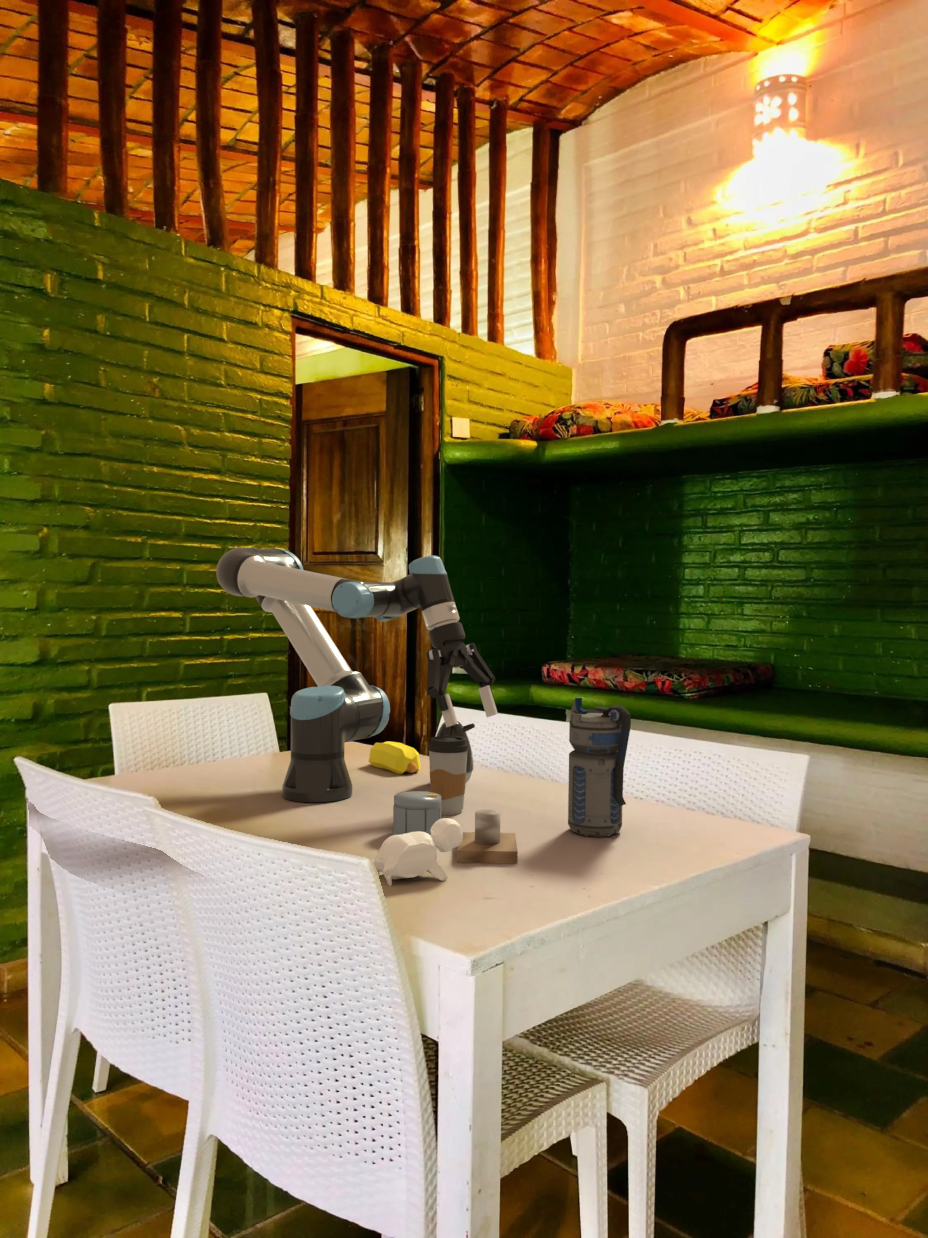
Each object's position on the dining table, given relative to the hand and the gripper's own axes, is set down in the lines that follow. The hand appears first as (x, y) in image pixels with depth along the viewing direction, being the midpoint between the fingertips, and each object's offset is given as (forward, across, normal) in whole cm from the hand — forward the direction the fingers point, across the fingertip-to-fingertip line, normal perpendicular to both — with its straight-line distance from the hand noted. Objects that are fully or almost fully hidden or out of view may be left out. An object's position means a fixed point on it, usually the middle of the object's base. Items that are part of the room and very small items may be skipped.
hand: (472, 720), depth 206 cm
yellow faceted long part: (+4, +14, +42) cm, 44 cm away
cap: (+18, -28, -3) cm, 33 cm away
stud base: (+24, -29, -19) cm, 42 cm away
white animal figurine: (+24, -46, -19) cm, 55 cm away
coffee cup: (+17, -11, +5) cm, 20 cm away
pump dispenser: (+12, +10, +20) cm, 25 cm away
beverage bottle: (+28, -4, -25) cm, 38 cm away
